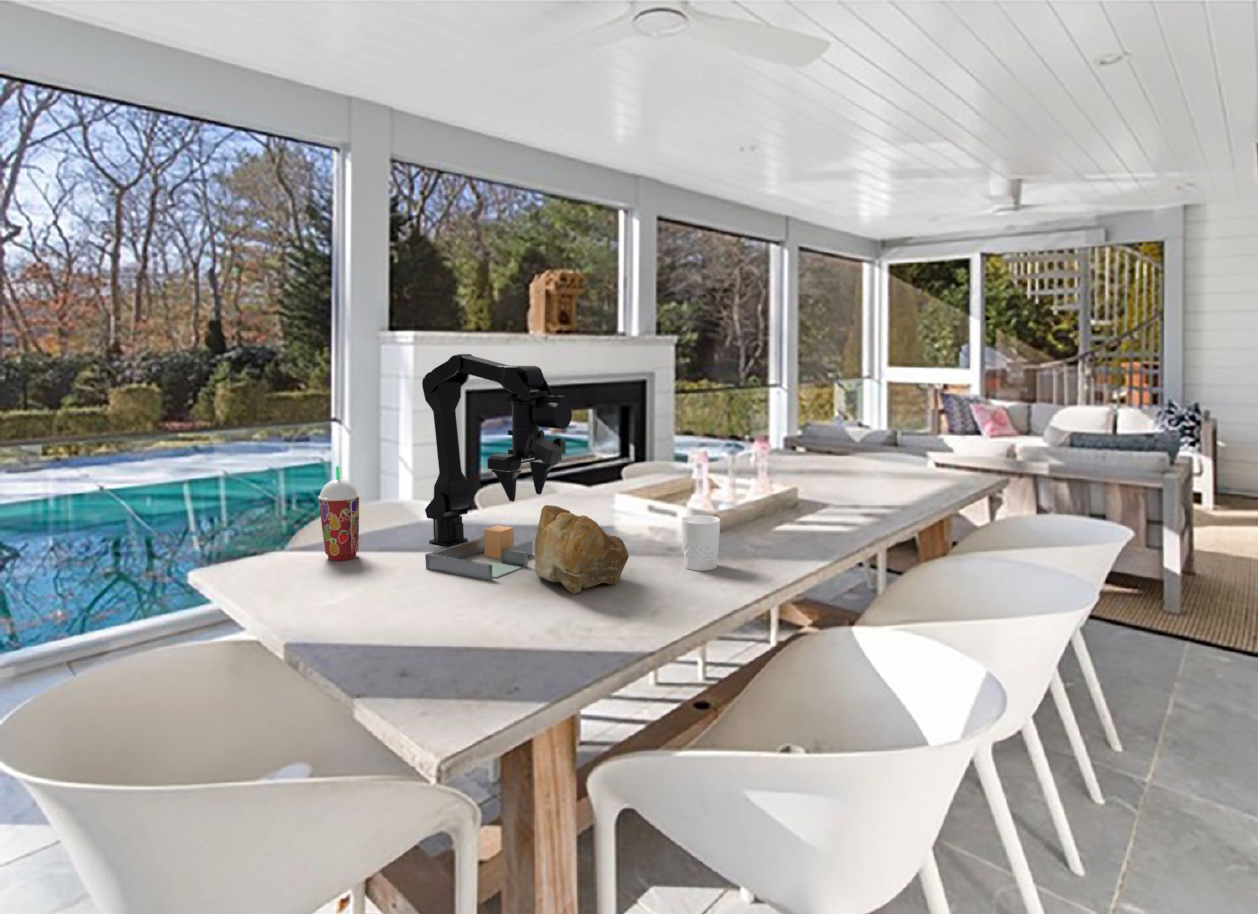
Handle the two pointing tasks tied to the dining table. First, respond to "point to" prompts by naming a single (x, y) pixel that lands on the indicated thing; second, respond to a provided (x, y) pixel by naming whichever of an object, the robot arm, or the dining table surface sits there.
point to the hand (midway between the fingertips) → (525, 497)
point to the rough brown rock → (576, 551)
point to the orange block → (497, 540)
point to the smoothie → (340, 518)
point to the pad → (502, 569)
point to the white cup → (700, 542)
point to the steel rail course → (454, 564)
